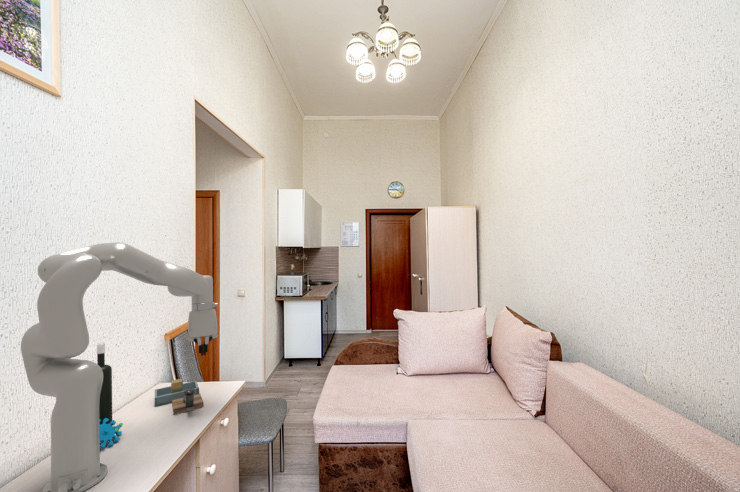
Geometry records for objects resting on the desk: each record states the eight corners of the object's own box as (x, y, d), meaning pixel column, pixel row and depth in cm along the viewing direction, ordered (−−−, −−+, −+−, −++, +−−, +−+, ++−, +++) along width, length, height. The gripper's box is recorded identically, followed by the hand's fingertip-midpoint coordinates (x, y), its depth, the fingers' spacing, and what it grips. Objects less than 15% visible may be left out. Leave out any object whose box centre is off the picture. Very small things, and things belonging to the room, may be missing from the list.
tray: (199, 396, 137) (198, 388, 137) (154, 407, 129) (154, 398, 129) (196, 388, 146) (196, 380, 146) (154, 397, 137) (154, 389, 137)
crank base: (203, 407, 127) (203, 401, 127) (173, 415, 121) (173, 409, 121) (200, 398, 135) (200, 393, 135) (172, 405, 129) (172, 399, 130)
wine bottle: (106, 434, 109) (105, 344, 110) (86, 437, 108) (85, 346, 109) (115, 425, 115) (114, 340, 116) (96, 428, 113) (96, 341, 114)
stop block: (182, 395, 137) (182, 381, 137) (171, 398, 134) (171, 383, 135) (182, 392, 140) (182, 378, 140) (171, 395, 138) (171, 380, 138)
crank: (182, 400, 128) (181, 382, 129) (192, 397, 130) (192, 379, 131) (184, 412, 117) (184, 393, 118) (195, 409, 119) (195, 390, 120)
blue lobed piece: (96, 451, 97) (82, 423, 99) (83, 464, 97) (69, 436, 100) (131, 436, 107) (117, 411, 110) (120, 448, 107) (106, 423, 110)
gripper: (222, 304, 134) (223, 349, 133) (180, 308, 126) (181, 355, 125) (224, 306, 127) (225, 353, 126) (180, 310, 120) (180, 360, 119)
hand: (203, 354), depth 126 cm, fingers closed
